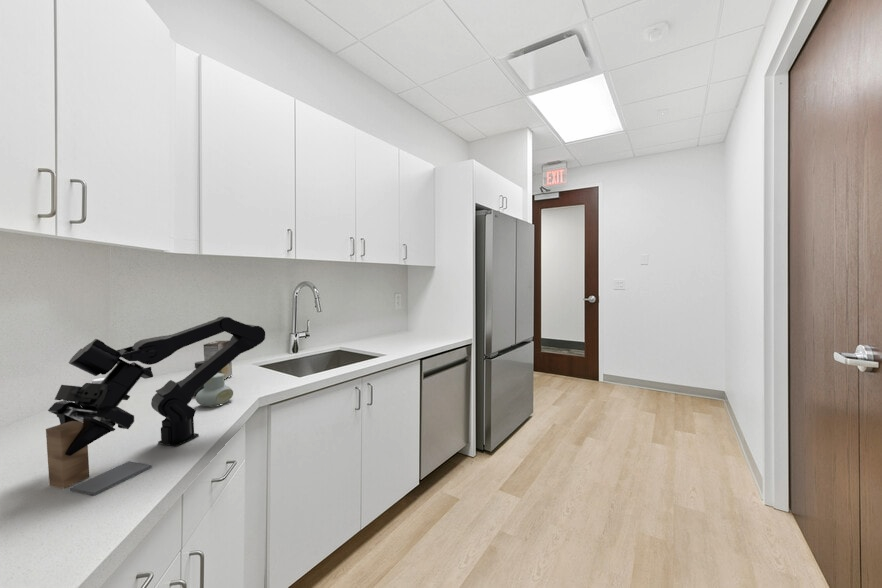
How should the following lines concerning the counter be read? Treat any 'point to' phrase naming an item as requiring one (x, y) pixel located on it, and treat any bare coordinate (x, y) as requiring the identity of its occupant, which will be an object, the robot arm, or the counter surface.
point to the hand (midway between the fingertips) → (59, 453)
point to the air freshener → (214, 392)
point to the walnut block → (60, 464)
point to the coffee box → (212, 349)
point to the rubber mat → (110, 478)
